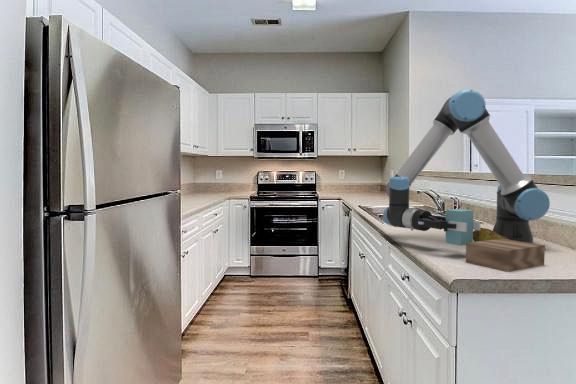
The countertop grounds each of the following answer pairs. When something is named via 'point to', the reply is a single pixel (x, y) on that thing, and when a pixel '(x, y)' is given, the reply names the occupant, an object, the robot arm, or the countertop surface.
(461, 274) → the countertop surface
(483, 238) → the potato
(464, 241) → the teal block
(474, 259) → the block
